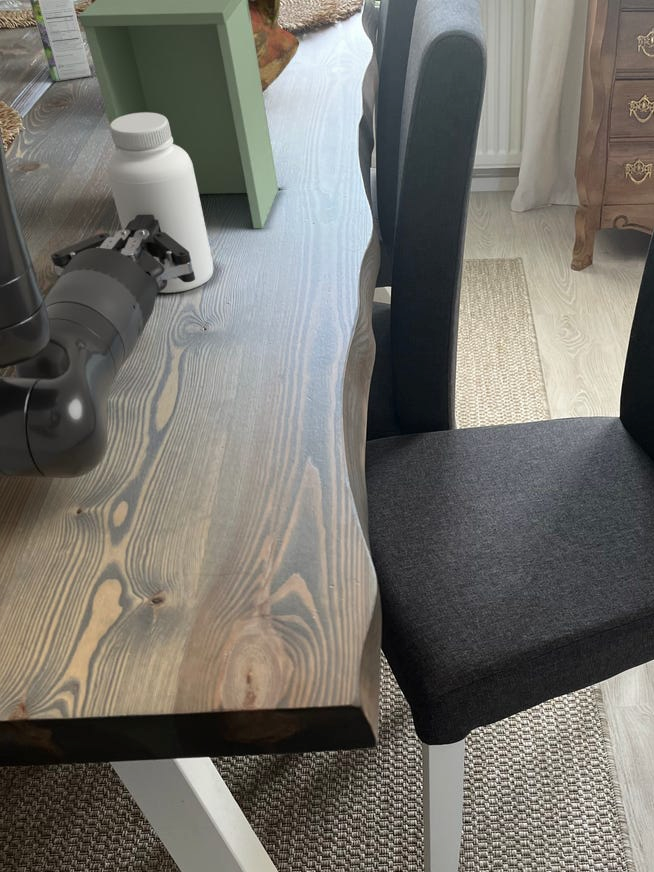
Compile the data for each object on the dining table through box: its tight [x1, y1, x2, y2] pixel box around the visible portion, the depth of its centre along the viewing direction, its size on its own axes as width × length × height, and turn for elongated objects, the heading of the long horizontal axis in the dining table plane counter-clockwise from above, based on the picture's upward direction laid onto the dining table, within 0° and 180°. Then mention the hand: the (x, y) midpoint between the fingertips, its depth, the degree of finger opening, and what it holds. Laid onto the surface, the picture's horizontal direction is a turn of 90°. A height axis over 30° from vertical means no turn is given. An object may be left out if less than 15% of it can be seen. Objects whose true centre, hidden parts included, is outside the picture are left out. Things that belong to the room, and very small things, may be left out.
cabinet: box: [78, 0, 279, 229], centre depth 108 cm, size 12×14×21 cm
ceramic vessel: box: [90, 0, 300, 93], centre depth 132 cm, size 17×26×25 cm, turn 108°
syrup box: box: [29, 0, 92, 82], centre depth 147 cm, size 6×6×14 cm
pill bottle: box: [106, 112, 214, 293], centre depth 98 cm, size 8×8×15 cm
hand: (148, 224), depth 95 cm, fingers closed
